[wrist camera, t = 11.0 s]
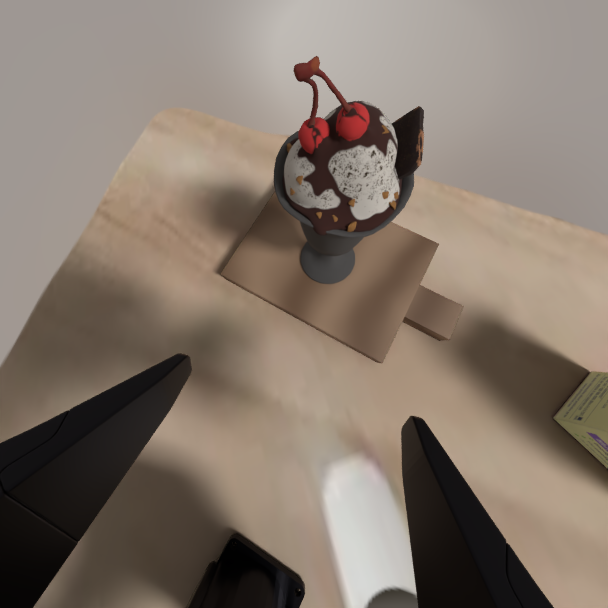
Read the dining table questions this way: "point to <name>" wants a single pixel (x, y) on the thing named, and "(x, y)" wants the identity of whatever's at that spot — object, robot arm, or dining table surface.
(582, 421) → the box
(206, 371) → the dining table surface
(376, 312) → the board
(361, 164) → the sundae
